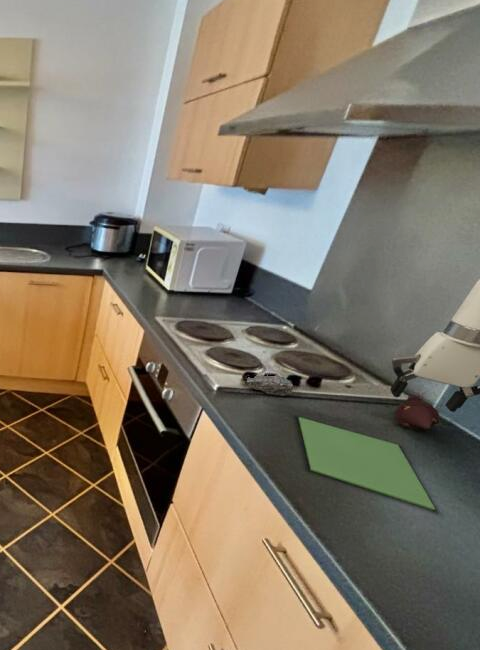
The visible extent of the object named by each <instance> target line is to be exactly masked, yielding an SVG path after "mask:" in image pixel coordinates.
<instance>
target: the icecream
mask: <svg viewBox="0 0 480 650" xmlns="http://www.w3.org/2000/svg"><path fill="white" fill-rule="evenodd" d="M406 400H407V401H404V402H402V403H400V404H398V406H397V408H395V411H394V414H395V420H396V422H398V423H399V424H400V425H401V426H402V427H404V428H406V429H412V430H415V431H422V430H429V429H430V428H433V427H434V426H435V425H438V424H439V423H440V417H439V415H440V414H439V411H438V410H437V409H436V408H435V407H434V406H433V404H431V403H428V402H424V401H422V398H421V397H420V396H418V395H416V394H411V395H409V396H408V397H407V398H406Z"/></svg>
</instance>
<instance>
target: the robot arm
mask: <svg viewBox="0 0 480 650" xmlns="http://www.w3.org/2000/svg"><path fill="white" fill-rule="evenodd" d="M391 363H392V365H391V366H392V370H393V372H394V374H395V375H396V377H397V378H396V379H395V381H394V382H393V384H392V385H391V387H390V393H391V394H392V396H393V397H394V398H399V397H400V396H401V395H402V393H403V392H404V391H405V389H406V388H407V387H408V384H409V383H408V381H410V380H414V379H416V378H420V379H424V380H427V381H431V382H435V383H440V384H444V385H448V386H453V387H457V388H459V390H455V391H454V392H453V394H452V395H451V397H449V399H448V400H447V402H446V403H445V407H446V408H447V410H448V411H450V412H452V413H455V412H456V411H457V410H458V409H460V408H462V407H463V405H464V404H465V403H466V402H467V400H468V399H472V398H474V396H478V395H480V384H477V382H479V380H480V278H479V279H478V280H477V281H476V283H475V284H474V286H473V287H472V288H471V290H470V292H469V293H468V294H467V295H466V297H465V298H464V300H463V302H462V303H461V304H460V306H459V308H458V309H457V311H456V312H455V313H454V315H453V316H452V318H451V319H450V320H449V322H448V324H447V325H446V327H445V328H444V329H443V331H442V332H441V331H436V332H435V333H434V334H433V335H432V336H431V337H429V339H428V340H426V341H425V342H424V344H423V345H421V346H420V348H419V350H418V351H417V352H416V353H415V354H414V355H409V356H397V357H393V358H392V359H391ZM405 364H408V365H407V368H408V369H405V370H403V369H402V365H405ZM476 384H477V385H476Z"/></svg>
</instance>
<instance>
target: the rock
mask: <svg viewBox="0 0 480 650" xmlns="http://www.w3.org/2000/svg"><path fill="white" fill-rule="evenodd" d="M257 374H258V375H257V376H255V377H254V378H250V377H248V378H247V377H246V384H247V386H248V387H249V388H250V389H251V388H252V389H254V390H257V391H262V392H264V393H266V394H268V395H273V396H280V397H288V396H291V394H292V393H293V389H294V385H293V383H292V381H291V380H289V379H287V378H285V376H281V375H275V374H274V375H275V376H268V375H269V374H266V375H267V376H263V374H264V373H257Z"/></svg>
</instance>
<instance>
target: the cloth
mask: <svg viewBox="0 0 480 650" xmlns="http://www.w3.org/2000/svg"><path fill="white" fill-rule="evenodd" d="M298 422H299V426H300V431H301V435H302V439H303V443H304V447H305V451H306V457H307V460H308V464H309V468H310V471H311V472H314V473H316V474H321V475H323V476H326V477H330V478H332V479H335V480H339V481H342V482H345V483H348V484H351V485H354V486H357V487H360V488H363V489H366V490H369V491H373V492H375V493H378V494H381V495H385V496H388V497H390V498H394V499H397V500H399V501H403V502H407V503H409V504H412V505H415V506H419V507H422V508H424V509H427V510H430V511H435V510H436V508H435V506H434V504H433V503H432V501H431V500H430V497H429V496H428V494H427V492H426V490H425V488H424V486H423V485H422V484H421V482H420V480H419V478H418V477H417V475H416V473H415V471H414V470H413V468H412V466H411V464H410V462H409V461H408V459H407V457H406V456H405V454H404V452H403V450H402V449H401V447H400V446H399V444H396V443H392V442H390V441H386V440H383V439H378V438H375V437H371V436H368V435H364V434H362V433H357V432H354V431H351V430H346V429H343V428H339V427H336V426H332V425H328V424H326V423H321V422H318V421H314V420H311V419H307V418H304V417H300V416H299V417H298Z"/></svg>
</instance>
